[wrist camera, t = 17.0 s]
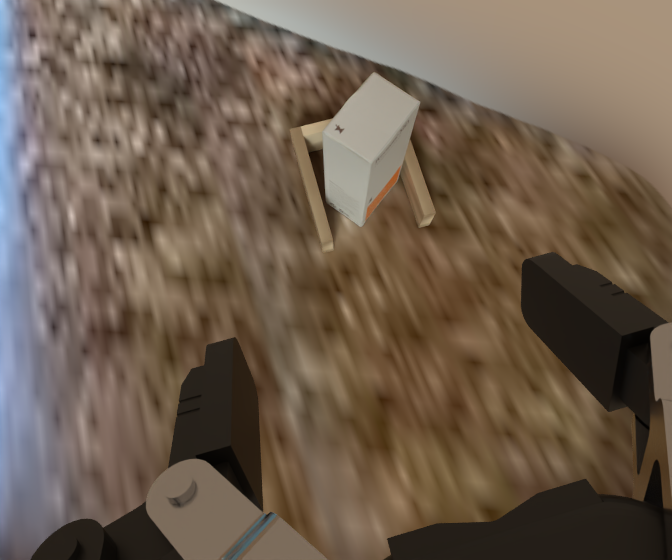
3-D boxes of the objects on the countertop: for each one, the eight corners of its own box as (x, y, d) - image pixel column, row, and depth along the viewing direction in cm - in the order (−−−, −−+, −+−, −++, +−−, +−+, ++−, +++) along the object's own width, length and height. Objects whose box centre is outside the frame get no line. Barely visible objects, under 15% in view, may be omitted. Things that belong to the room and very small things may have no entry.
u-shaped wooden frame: (322, 253, 41) (321, 242, 38) (293, 146, 43) (289, 129, 40) (429, 225, 41) (435, 212, 38) (393, 121, 44) (397, 102, 41)
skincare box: (362, 229, 41) (370, 165, 30) (324, 203, 42) (318, 130, 30) (400, 180, 42) (423, 100, 31) (363, 155, 43) (371, 68, 31)
